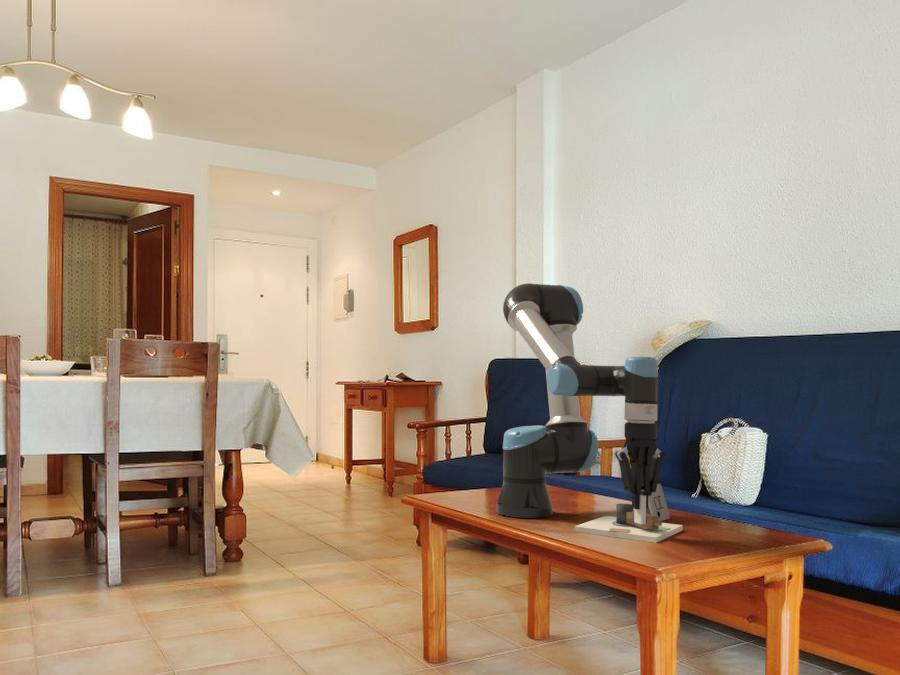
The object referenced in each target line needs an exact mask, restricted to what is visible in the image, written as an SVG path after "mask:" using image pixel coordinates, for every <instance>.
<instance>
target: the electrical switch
mask: <svg viewBox="0 0 900 675" xmlns="http://www.w3.org/2000/svg"><path fill="white" fill-rule="evenodd" d="M663 490H664V489H663V486H662V485H661V483H657V488H656V491H655V492H652V495H651V496H648V509H646V514H649V515H653V516H658V517H659V522H661V523H662V522H663V521H665V520H669V519H670V518H671V516H670V511H669V508H668V505H667V502H666V498H665V493H664V491H663Z"/></svg>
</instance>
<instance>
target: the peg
mask: <svg viewBox="0 0 900 675" xmlns="http://www.w3.org/2000/svg"><path fill="white" fill-rule="evenodd" d="M615 506H616V513H615V514H616V515H615V517H616V523H618V524H623V525H635V526H639V527H643V528H647V529H651V530H653V529H659V526H662V523H663V522H662V521H661V522H659V517H658V516H653V515H649V514H646V524H638V523H635V522H634V509H633V508H632V503H622V502H621V503H616V505H615Z"/></svg>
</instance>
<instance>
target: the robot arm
mask: <svg viewBox="0 0 900 675" xmlns="http://www.w3.org/2000/svg"><path fill="white" fill-rule="evenodd" d="M502 311H503V312H502V313H503V316H504V319H505V321H506V323H507V324H508V326H509V327H510V328H511V329H512V330H514V331H516V332H518V333H519V335H520V336H521V338H523V340H524V341H525V342H526V343H527V344H526V345H528V347H529V348H530V350H532V352H533V354H534V355H535V356H536V358H537V359H538V360H539V362H540V363H541V364H542V365H543V368H545V377H546V378H545V379H546V388H547V399H548V400H547V401H548V410H549V411H548V412H549V420H548V422H546V423H545V425H538V424H537V425H524V426H517V427H512V428H509V429H508V430H506V431H504V434H503V442H502V472H503V473H502V474H503V475H502V479H503V480H502V486H501V489H500V493H499V495H498V499H497V502H496V513H497V514H498V515H499V516H503V515H505V517H509V516H510V518H517V519H518V518H520V519H534V518H535V519H538V518H546V517H550V516H552V515H553V508H554V506H553V503H552V500H551V497H550V494H549V491H548V487H547V474H559V473H561V474H562V473H565V474H566V473H571V474H572V473H573V474H575V473H579V472H580V473H581V472H586V471H588V470H590V469H591V468H592V467H593V466H594V464H595V462H596V460H597V458H598V454H599V441H598V437H597V435H596V434H595V432H594V431H593V430H591V429H589V428H588V422H587V420H585V419H584V418H583V417H582V415H581V407H580V406H581V405H580V397H589V396H590V397H624V420H625V421H626V422H625V423H624V438H625V442H624V444H623V448H622V449H621V450H619V451H618V450H616V451H615V452H614V455H615V458H616V459H617V460H618V464H619V468H620V469H619V470H620V475H621V479H622V484H623V490H624V491H625V492H627V493H629V494H630V495H631V504H632V508H633V511H634V522H635V523H638V524H646V509H648V496H651V495H652V492H655V491H656V488H657V484H659V483H658V482H659V478H660V473H661V469H662V464H663V461H664V459H665V458H666V456H667V454H666V452H665V451H661V450H660V449H659V448H658V444H657V438H658V424H657V423H655V422H657V421H658V397H659V396H658V395H659V394H658V393H659V390H658V389H659V385H658V384H659V372H658V371H659V370H658V360H657V359H656V357H653V356H628V357H626V358H625V364H624V365H591V364H590V365H588V364H587V365H586V364H580V362H579V361H578V360H577V358H576V357H575V356H576V355H575V348H574V341H573V340H574V339H573V334H574V333H575V332H576V331H577V329H578V325H579V324H580V322H581V321H582V319H583V315H582V314H584V304H583V299H582V296H581V295H580V294H579V292H578V290H576V289H575V288H574V287H571V286H568V285H567V286H565V285H561V284H552V285H551V284H544V283H543V284H542V283H541V284H540V283H530V282H529V283H527V282H526V283H521V284H519V285H517V286H515V287H513V288H512V289H511V290H510V291H509V292H508V293H507V295H506V297H505V298H504V301H503V304H502Z"/></svg>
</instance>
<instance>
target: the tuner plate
mask: <svg viewBox="0 0 900 675" xmlns="http://www.w3.org/2000/svg"><path fill="white" fill-rule="evenodd" d="M661 523H662V526H659V529H653V530H651V529H647V528H643V527H639V526H635V525H623V524H618V523H616V516H612V515H611V516H610V515H603V516H601V517H598V518H595V519H592V520H589V521H586V522H583V523H581V524H577V525H575V526H574V532H577V533H583V534H589V535H590V534H591V535H598V536H605V537H611V538H619V539H626V540H631V541H632V540H633V541H639V542H648V543H655V544H657V543H659V542H661V541H663V540H665V539H667V538H670V537H672V536H674V535H676V534H678V533H680V532H682V531H683V530H684V529H683V527H684V525H683V524H675V523H668V522H661Z"/></svg>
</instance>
